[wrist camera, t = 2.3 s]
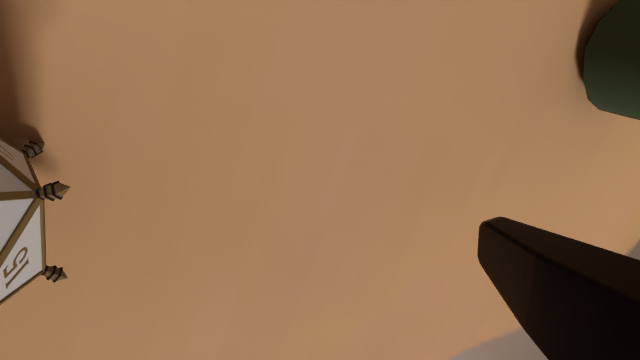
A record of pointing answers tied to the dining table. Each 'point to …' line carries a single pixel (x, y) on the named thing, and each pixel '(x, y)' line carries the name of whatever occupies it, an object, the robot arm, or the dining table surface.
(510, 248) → the robot arm
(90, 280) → the dining table surface
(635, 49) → the character mug
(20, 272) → the game die
